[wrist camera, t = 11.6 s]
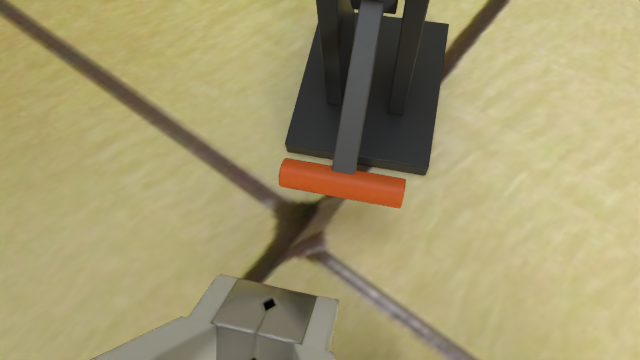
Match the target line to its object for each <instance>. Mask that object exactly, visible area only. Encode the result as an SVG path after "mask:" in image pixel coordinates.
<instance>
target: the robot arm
mask: <svg viewBox="0 0 640 360" xmlns="http://www.w3.org/2000/svg"><path fill="white" fill-rule="evenodd" d="M338 306H339V301H338V299H333V298H328V297H323V296H315V295H311V294H306V293H301V292H296V291H292V290H287V289H282V288H278V287H274V286H270V285H266V284H262V283H258V282H254V281H249V280H245V279H241V278H240V279H239V278H236V277H232V276H227V275H223V274H220V275H218V276H217V277H216V278H215V279H214V280H213V282H212V283H211V285H210V286H209V288H208V289H207V290H206V292H205V293H204V295H203V296H202V298H201V299H200V300H199V302H198V303H197V305H196V306H195V308H194V309H193V310H192V312H191V313H190V315H189V316H188V317H187V318H186V317H179V318H177V319H175V320H173V321H171V322H169V323H167V324H165V325H162V326H160V327H158V328H156V329H154V330H152V331H150V332H148V333H146V334H143V335H141V336H139V337H137V338H135V339H133V340H131V341H129V342H126V343H124V344H122V345H120V346H118V347H116V348H114V349H112V350H110V351H107V352H105V353H103V354H101V355H99V356H97V357H95V358H93V359H91V360H336V358H335V356H334V354H333V352H331V348H332V343H333V337H334V331H335V324H336V318H337V312H338Z"/></svg>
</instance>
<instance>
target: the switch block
mask: <svg viewBox="0 0 640 360" xmlns="http://www.w3.org/2000/svg"><path fill="white" fill-rule="evenodd" d="M428 4H429V0H405V5H404V12H403V18H396V17H387V16H383V19H382V25H381V30H380V36H379V42H378V47H377V53H376V59H375V64H374V70H373V76H372V82H371V87H370V93H369V99H368V104H367V110H366V116H365V121H364V127H363V133H362V138H361V144H360V150H359V155H358V161H357V164H363V165H368V166H374V167H380V168H386V169H391V170H397V171H403V172H409V173H414V174H420V175H425V174H426V172H427V170H428V167H429V160H430V153H431V146H432V139H433V132H434V125H435V118H436V111H437V104H438V97H439V90H440V83H441V76H442V69H443V62H444V55H445V48H446V41H447V34H448V27H449V24H444V23H436V22H428V21H425V17H426V13H427V9H428ZM316 5H317V14H318V25H317V28H316V32H315V36H314V39H313V43H312V46H311V50H310V54H309V57H308V61H307V65H306V68H305V72H304V76H303V79H302V83H301V87H300V90H299V94H298V98H297V101H296V105H295V109H294V112H293V116H292V120H291V123H290V127H289V131H288V134H287V138H286V141H285V145H286V148H287V151H288V152H294V153H299V154H305V155H311V156H317V157H322V158H328V159H333V158H334V153H335V147H336V141H337V135H338V129H339V123H340V117H341V111H342V106H343V100H344V94H345V88H346V82H347V76H348V70H349V65H350V59H351V53H352V47H353V41H354V35H355V29H356V23H357V18H358V13H355V12H354V9H352V6H351V2H350V0H316Z"/></svg>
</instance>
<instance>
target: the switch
mask: <svg viewBox="0 0 640 360" xmlns="http://www.w3.org/2000/svg"><path fill="white" fill-rule="evenodd" d="M350 2H351V6H352V9H358V10H359V12H358V18H357V23H356V29H355V35H354V41H353V47H352V53H351V59H350V65H349V70H348V76H347V82H346V88H345V94H344V100H343V106H342V111H341V117H340V123H339V129H338V135H337V141H336V147H335V153H334V158H333V164H332V166H328V165H323V164H317V163H311V162H305V161H300V160H294V159H288V158H285V159H284V160H283V162H282V164H281V168H280V173H279V185H280V186H281V187H286V188H292V189H297V190H303V191H308V192H313V193H319V194H324V195H329V196H335V197H340V198H345V199H351V200H356V201H362V202H367V203H372V204H378V205H383V206H388V207H394V208H401V205H402V201H403V196H404V191H405V184H406V180H405V179H402V178H396V177H391V176H385V175H379V174H374V173H368V172H362V171H357V170H356V167H357V161H358V155H359V150H360V144H361V138H362V133H363V127H364V121H365V116H366V110H367V104H368V99H369V93H370V87H371V82H372V76H373V70H374V64H375V59H376V53H377V47H378V42H379V36H380V30H381V25H382V19H383V13H390V14H395V13H396V9H397V3H398V0H350Z"/></svg>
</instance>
